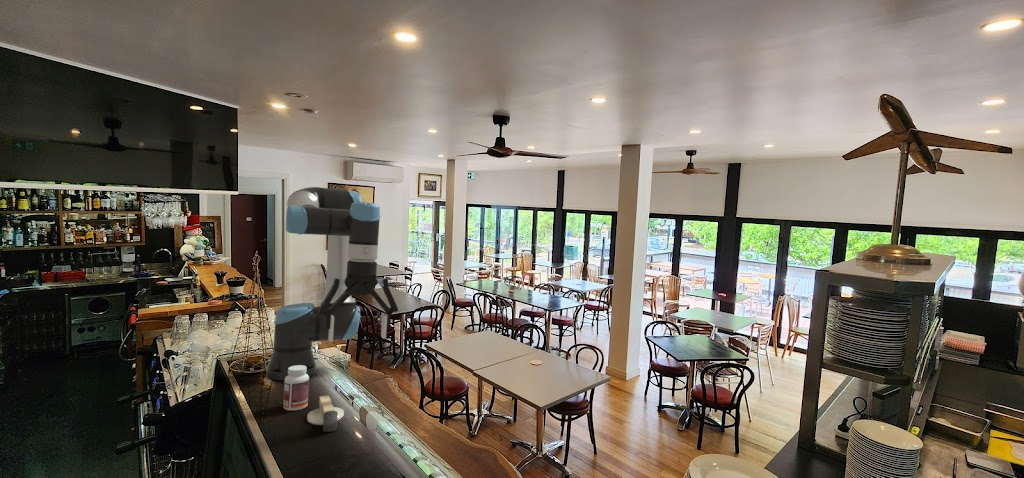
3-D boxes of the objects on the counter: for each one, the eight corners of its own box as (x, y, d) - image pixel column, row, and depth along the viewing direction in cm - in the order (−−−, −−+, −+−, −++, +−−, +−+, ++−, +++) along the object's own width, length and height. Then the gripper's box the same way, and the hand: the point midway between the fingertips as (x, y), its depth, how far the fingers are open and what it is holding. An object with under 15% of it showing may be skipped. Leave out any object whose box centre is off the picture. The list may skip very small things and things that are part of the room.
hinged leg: (337, 430, 107) (338, 414, 107) (323, 432, 106) (324, 417, 105) (329, 408, 120) (330, 394, 120) (317, 410, 118) (317, 395, 118)
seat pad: (305, 413, 116) (305, 409, 116) (340, 408, 121) (341, 404, 121) (308, 427, 108) (309, 423, 108) (346, 421, 113) (346, 417, 113)
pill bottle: (311, 403, 123) (313, 364, 123) (301, 412, 117) (304, 371, 117) (289, 402, 123) (291, 363, 123) (278, 410, 117) (280, 370, 117)
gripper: (312, 260, 105) (307, 346, 106) (412, 262, 118) (407, 339, 119) (309, 257, 112) (305, 339, 112) (404, 260, 125) (399, 332, 125)
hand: (357, 339), depth 115 cm, fingers open, 13 cm apart
